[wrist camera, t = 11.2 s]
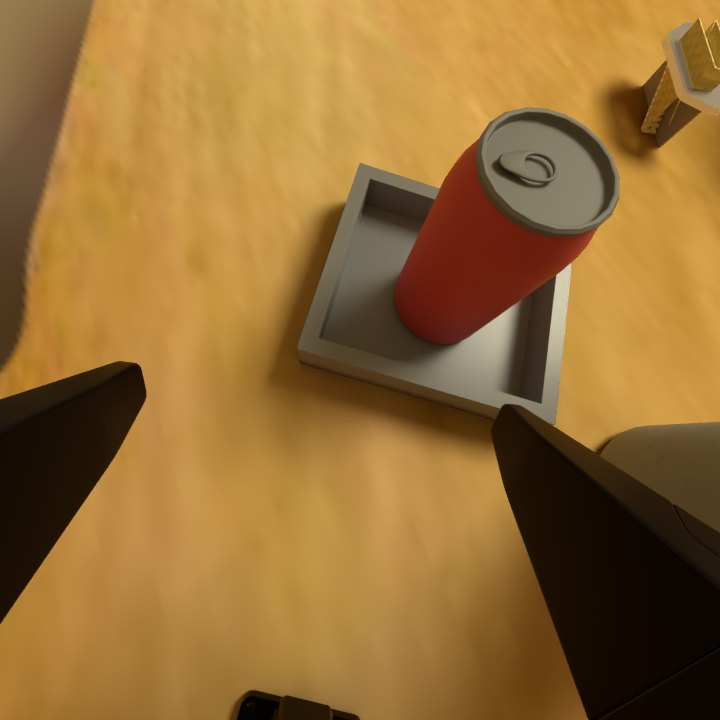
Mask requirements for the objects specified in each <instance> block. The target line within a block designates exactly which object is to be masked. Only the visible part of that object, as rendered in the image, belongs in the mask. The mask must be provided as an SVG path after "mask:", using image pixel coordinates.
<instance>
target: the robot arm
mask: <svg viewBox="0 0 720 720" xmlns="http://www.w3.org/2000/svg"><path fill="white" fill-rule="evenodd" d="M145 399H146V387H145V383H144V378H143V374H142V370H141V367H140V366H139V365H138V364H137V363H132V362H123V361H118V362H114V363H111V364H108V365H105V366H102V367H99V368H96V369H92V370H89V371H86V372H83V373H80V374H77V375H74V376H71V377H68V378H65V379H62V380H59V381H56V382H52V383H49V384H46V385H43V386H40V387H37V388H34V389H31V390H28V391H25V392H22V393H19V394H15V395H12V396H9V397H6V398H3V399H0V624H1V622H2V621H3V619H4V618H5V616H6V615H7V614H8V612H9V611H10V609H11V608H12V606H13V605H14V603H15V602H16V600H17V599H18V597H19V596H20V595H21V593H22V592H23V590H24V589H25V587H26V586H27V584H28V583H29V581H30V580H31V579H32V577H33V576H34V574H35V573H36V571H37V570H38V568H39V567H40V565H41V564H42V563H43V561H44V560H45V558H46V557H47V555H48V554H49V552H50V551H51V549H52V548H53V546H54V545H55V544H56V542H57V541H58V539H59V538H60V536H61V535H62V533H63V532H64V530H65V529H66V528H67V526H68V525H69V523H70V522H71V520H72V519H73V517H74V516H75V514H76V513H77V512H78V510H79V509H80V507H81V506H82V504H83V503H84V501H85V500H86V498H87V497H88V495H89V494H90V493H91V491H92V490H93V488H94V487H95V485H96V484H97V482H98V481H99V479H100V478H101V477H102V475H103V474H104V472H105V471H106V469H107V468H108V466H109V465H110V463H111V462H112V460H113V459H114V457H115V455H116V454H117V452H118V450H119V449H120V447H121V445H122V443H123V441H124V439H125V438H126V436H127V434H128V432H129V430H130V428H131V426H132V425H133V423H134V421H135V419H136V417H137V415H138V413H139V411H140V410H141V408H142V406H143V404H144V402H145ZM491 437H492V441H493V445H494V449H495V453H496V457H497V461H498V465H499V469H500V473H501V477H502V481H503V485H504V488H505V491H506V494H507V497H508V500H509V503H510V506H511V508H512V511H513V514H514V517H515V519H516V522H517V525H518V528H519V530H520V533H521V536H522V539H523V541H524V544H525V547H526V550H527V552H528V555H529V558H530V561H531V563H532V566H533V569H534V572H535V574H536V577H537V580H538V583H539V585H540V588H541V591H542V594H543V596H544V599H545V602H546V605H547V607H548V610H549V613H550V616H551V618H552V621H553V624H554V627H555V629H556V632H557V635H558V638H559V640H560V643H561V646H562V649H563V651H564V654H565V657H566V660H567V663H568V665H569V668H570V671H571V674H572V676H573V679H574V682H575V685H576V687H577V690H578V693H579V696H580V698H581V701H582V704H583V707H584V709H585V712H586V715H587V718H588V720H720V532H718V531H717V530H715V529H714V528H712V527H711V526H709V525H707V524H706V523H704V522H703V521H701V520H699V519H698V518H696V517H695V516H693V515H691V514H690V513H688V512H687V511H685V510H684V509H682V508H681V507H679V506H677V505H676V504H672V503H671V501H669V500H668V499H666V498H665V497H663V496H662V495H660V494H659V493H657V492H655V491H654V490H652V489H651V488H649V487H648V486H646V485H645V484H643V483H641V482H640V481H638V480H637V479H635V478H634V477H632V476H630V475H629V474H627V473H626V472H624V471H623V470H621V469H620V468H618V467H616V466H615V465H613V464H612V463H610V462H609V461H607V460H605V459H604V458H602V457H601V456H599V455H598V454H596V453H595V452H593V451H591V450H590V449H588V448H587V447H585V446H584V445H582V444H581V443H579V442H577V441H576V440H574V439H573V438H571V437H570V436H568V435H566V434H565V433H563V432H562V431H560V430H559V429H557V428H556V427H554V426H552V425H551V424H549V423H548V422H546V421H545V420H543V419H541V418H540V417H538V416H537V415H535V414H534V413H532V412H531V411H529V410H527V409H526V408H524V407H523V406H521V405H516V404H504V405H503V406H502V407H501V409H500V411H499V413H498V415H497V417H496V419H495V421H494V424H493V426H492V429H491ZM249 702H254V703H255V706H254V707H253V708H250V707H248V705H247V703H249ZM237 720H360V718H359V717H358V716H356V715H354V714H350V713H346V712H342V711H338V710H334V709H331V708H330V707H329V706H328V705H324V704H320V703H316V702H312V701H308V700H304V699H299V698H295V697H291V696H287V695H286V696H284V697H280V696H276V695H272V694H268V693H264V692H260V691H256V690H251V691H249V692H248V693H247V694H246V695H245V696H244V698H243V700H242V704H241V707H240V710H239V714H238V717H237Z"/></svg>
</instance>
